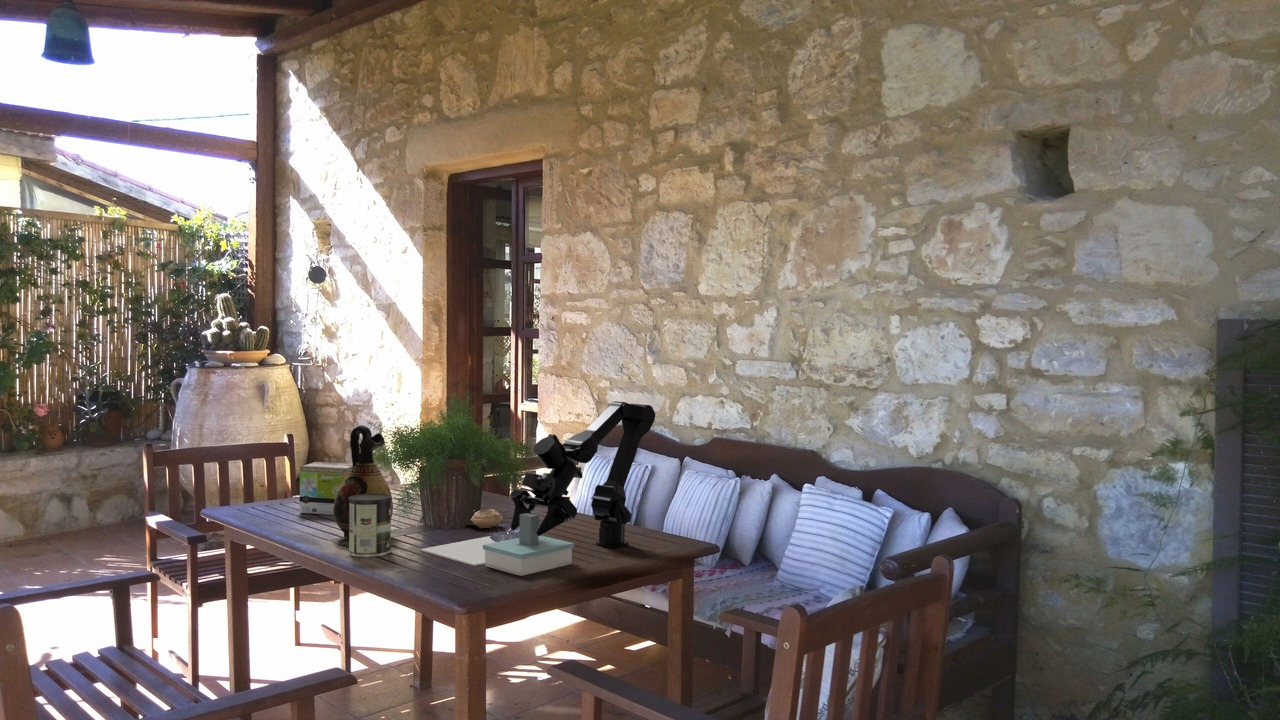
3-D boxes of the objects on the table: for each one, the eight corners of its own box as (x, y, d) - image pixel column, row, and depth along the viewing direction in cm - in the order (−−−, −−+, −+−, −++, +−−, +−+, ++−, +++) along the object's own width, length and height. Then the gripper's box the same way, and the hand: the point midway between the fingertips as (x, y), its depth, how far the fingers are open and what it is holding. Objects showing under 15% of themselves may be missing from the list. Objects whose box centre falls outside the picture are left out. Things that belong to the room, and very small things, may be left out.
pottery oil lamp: (471, 520, 270) (483, 499, 271) (498, 539, 263) (510, 518, 264) (452, 514, 263) (465, 492, 264) (479, 534, 256) (492, 512, 257)
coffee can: (385, 546, 237) (385, 492, 237) (395, 555, 228) (396, 498, 228) (344, 550, 232) (344, 494, 232) (353, 559, 223) (353, 501, 223)
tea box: (298, 514, 278) (298, 465, 277) (314, 508, 288) (314, 461, 287) (345, 516, 276) (346, 467, 275) (360, 510, 286) (360, 462, 285)
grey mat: (488, 537, 249) (488, 536, 249) (543, 551, 234) (543, 549, 234) (420, 550, 233) (420, 549, 233) (474, 566, 218) (474, 564, 218)
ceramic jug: (404, 537, 248) (405, 426, 247) (354, 546, 236) (355, 430, 235) (367, 528, 259) (368, 422, 258) (318, 537, 247) (319, 425, 246)
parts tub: (535, 554, 230) (535, 538, 230) (571, 563, 222) (571, 547, 222) (484, 565, 219) (485, 549, 218) (520, 575, 210) (521, 558, 210)
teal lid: (535, 544, 231) (536, 506, 231) (574, 553, 222) (574, 514, 222) (482, 555, 218) (483, 515, 218) (520, 565, 209) (521, 524, 209)
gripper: (515, 456, 229) (480, 506, 220) (569, 463, 217) (534, 517, 208) (538, 484, 235) (505, 534, 227) (591, 493, 223) (558, 545, 215)
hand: (524, 532), depth 219 cm, fingers open, 9 cm apart
